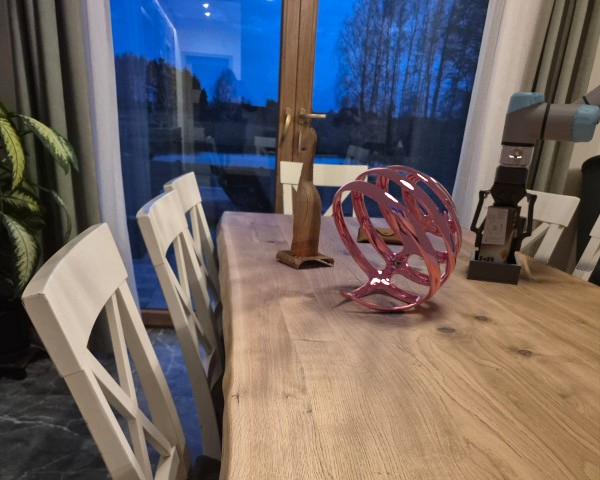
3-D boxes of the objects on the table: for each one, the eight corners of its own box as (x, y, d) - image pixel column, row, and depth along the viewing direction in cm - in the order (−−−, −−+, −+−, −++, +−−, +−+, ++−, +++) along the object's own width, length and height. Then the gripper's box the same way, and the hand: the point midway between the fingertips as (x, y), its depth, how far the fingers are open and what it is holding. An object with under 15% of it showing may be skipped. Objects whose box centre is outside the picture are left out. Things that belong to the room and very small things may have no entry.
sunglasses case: (356, 240, 178) (358, 220, 178) (356, 248, 185) (358, 228, 185) (415, 245, 176) (417, 224, 177) (412, 252, 183) (414, 232, 184)
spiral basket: (330, 217, 94) (445, 120, 98) (273, 229, 119) (367, 151, 124) (414, 346, 105) (514, 254, 109) (345, 332, 130) (429, 258, 135)
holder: (514, 271, 153) (518, 253, 151) (517, 284, 140) (521, 265, 138) (468, 266, 156) (471, 249, 154) (466, 278, 143) (470, 260, 141)
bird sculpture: (309, 257, 156) (316, 127, 142) (335, 266, 148) (346, 129, 134) (274, 260, 151) (278, 125, 136) (299, 270, 142) (306, 127, 128)
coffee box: (500, 276, 142) (514, 209, 135) (475, 272, 145) (487, 206, 138) (508, 270, 150) (522, 205, 143) (484, 266, 152) (496, 202, 145)
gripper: (469, 163, 135) (452, 260, 146) (560, 170, 131) (536, 270, 141) (469, 162, 142) (454, 255, 152) (556, 168, 137) (534, 263, 147)
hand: (494, 262), depth 146 cm, fingers closed on coffee box, 7 cm apart
